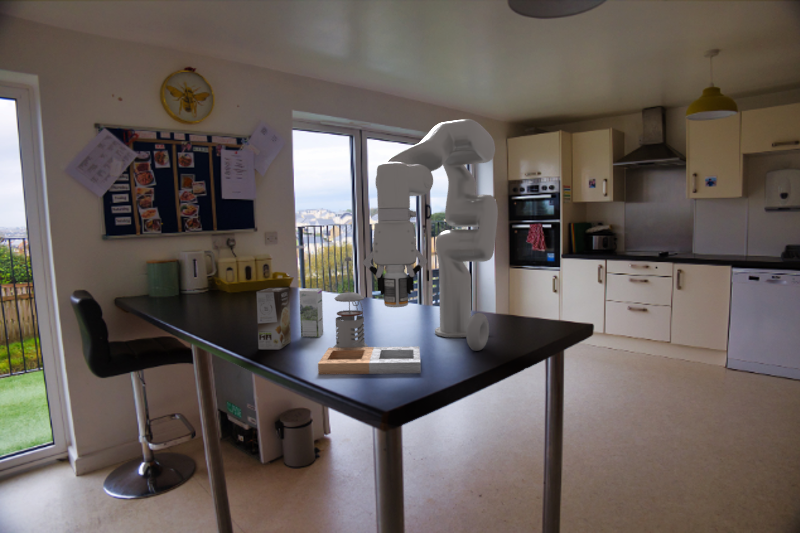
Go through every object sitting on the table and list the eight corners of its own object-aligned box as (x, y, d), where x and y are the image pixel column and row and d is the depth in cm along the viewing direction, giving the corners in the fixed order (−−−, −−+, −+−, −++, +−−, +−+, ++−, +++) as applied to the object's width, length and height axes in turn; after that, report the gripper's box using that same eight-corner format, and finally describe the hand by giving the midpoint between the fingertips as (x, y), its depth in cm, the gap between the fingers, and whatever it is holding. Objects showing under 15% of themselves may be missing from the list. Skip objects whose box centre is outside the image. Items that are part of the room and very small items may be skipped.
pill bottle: (404, 303, 115) (403, 262, 114) (411, 306, 110) (410, 264, 109) (381, 304, 114) (380, 263, 113) (387, 308, 108) (386, 265, 107)
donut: (476, 355, 119) (476, 316, 118) (464, 354, 121) (463, 315, 120) (491, 346, 127) (491, 310, 127) (479, 345, 129) (478, 309, 128)
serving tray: (419, 356, 119) (419, 346, 119) (420, 373, 106) (420, 362, 105) (329, 357, 120) (328, 347, 120) (318, 374, 106) (318, 363, 106)
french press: (326, 350, 127) (323, 257, 125) (345, 340, 138) (343, 255, 136) (359, 353, 124) (356, 258, 122) (376, 342, 135) (374, 255, 133)
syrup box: (323, 333, 148) (322, 287, 147) (318, 337, 142) (317, 290, 141) (306, 333, 148) (304, 287, 147) (300, 337, 143) (298, 290, 141)
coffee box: (280, 349, 129) (278, 291, 127) (258, 349, 129) (255, 291, 128) (291, 341, 138) (289, 287, 136) (270, 341, 138) (268, 287, 137)
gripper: (430, 216, 113) (431, 290, 115) (358, 217, 114) (361, 292, 115) (431, 215, 106) (433, 295, 107) (355, 217, 106) (357, 296, 108)
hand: (395, 292), depth 111 cm, fingers closed on pill bottle, 5 cm apart
